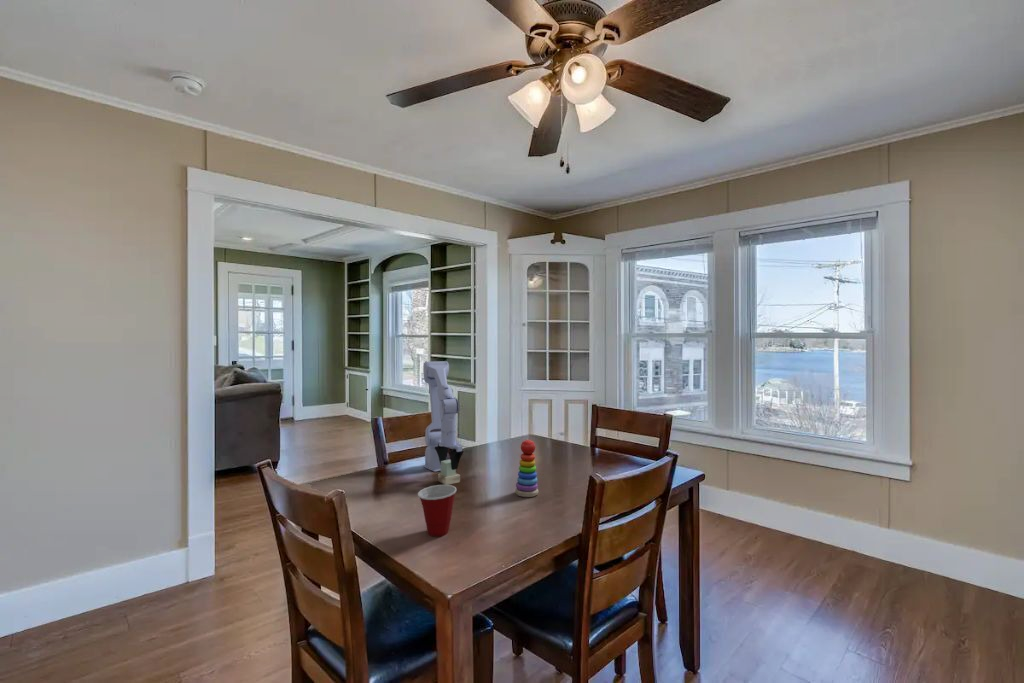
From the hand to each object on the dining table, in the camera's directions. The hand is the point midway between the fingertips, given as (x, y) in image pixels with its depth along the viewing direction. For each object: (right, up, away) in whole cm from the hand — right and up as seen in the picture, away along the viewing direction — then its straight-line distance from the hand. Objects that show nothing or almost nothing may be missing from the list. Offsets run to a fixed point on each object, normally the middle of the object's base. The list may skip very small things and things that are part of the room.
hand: (448, 467), depth 174 cm
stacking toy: (+29, -6, -13) cm, 32 cm away
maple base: (0, -6, 0) cm, 6 cm away
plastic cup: (+3, -7, -44) cm, 45 cm away
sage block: (0, -3, 0) cm, 3 cm away
